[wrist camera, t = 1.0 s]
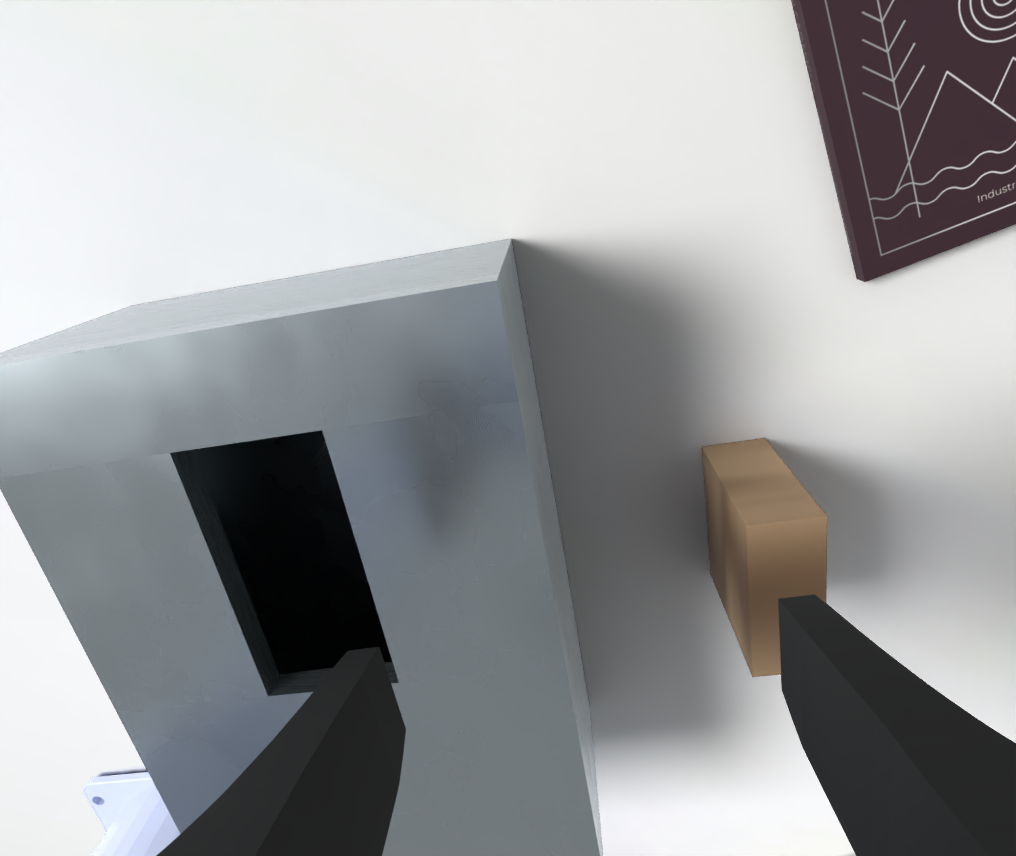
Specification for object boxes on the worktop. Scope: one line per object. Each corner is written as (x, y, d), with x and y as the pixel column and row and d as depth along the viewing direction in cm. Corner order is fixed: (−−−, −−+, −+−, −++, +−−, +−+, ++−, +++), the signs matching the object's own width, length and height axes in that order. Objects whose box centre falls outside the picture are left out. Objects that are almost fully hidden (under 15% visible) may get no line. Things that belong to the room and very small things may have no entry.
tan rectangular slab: (768, 566, 23) (825, 669, 18) (710, 573, 23) (752, 676, 19) (764, 437, 21) (826, 515, 17) (701, 446, 21) (746, 525, 17)
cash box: (589, 706, 26) (606, 890, 19) (299, 734, 27) (223, 916, 21) (511, 238, 19) (496, 280, 13) (131, 305, 20) (-60, 374, 14)
